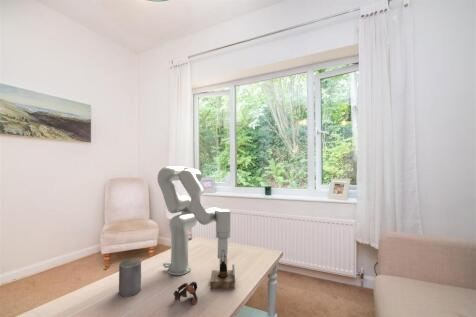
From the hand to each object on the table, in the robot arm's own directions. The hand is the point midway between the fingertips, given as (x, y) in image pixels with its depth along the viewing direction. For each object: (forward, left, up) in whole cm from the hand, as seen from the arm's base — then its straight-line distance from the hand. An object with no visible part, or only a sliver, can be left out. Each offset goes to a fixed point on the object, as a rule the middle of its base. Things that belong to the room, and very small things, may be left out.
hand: (223, 269), depth 121 cm
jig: (0, 0, -7) cm, 7 cm away
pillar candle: (-44, -7, -7) cm, 45 cm away
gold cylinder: (0, 0, -3) cm, 3 cm away
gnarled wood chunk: (-16, -15, -7) cm, 23 cm away
